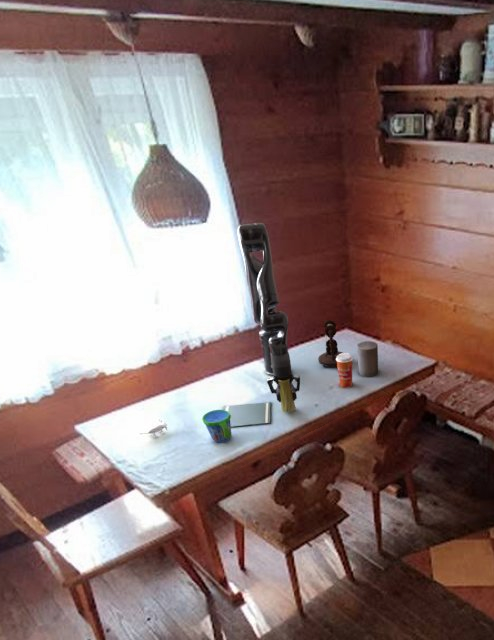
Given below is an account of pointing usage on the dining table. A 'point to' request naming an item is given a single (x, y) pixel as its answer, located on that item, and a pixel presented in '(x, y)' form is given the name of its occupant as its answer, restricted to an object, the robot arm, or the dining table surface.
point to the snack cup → (218, 425)
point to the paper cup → (345, 369)
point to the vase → (286, 396)
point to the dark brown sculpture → (330, 346)
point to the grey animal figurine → (157, 428)
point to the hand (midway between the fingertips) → (287, 400)
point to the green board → (249, 414)
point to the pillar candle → (368, 358)
